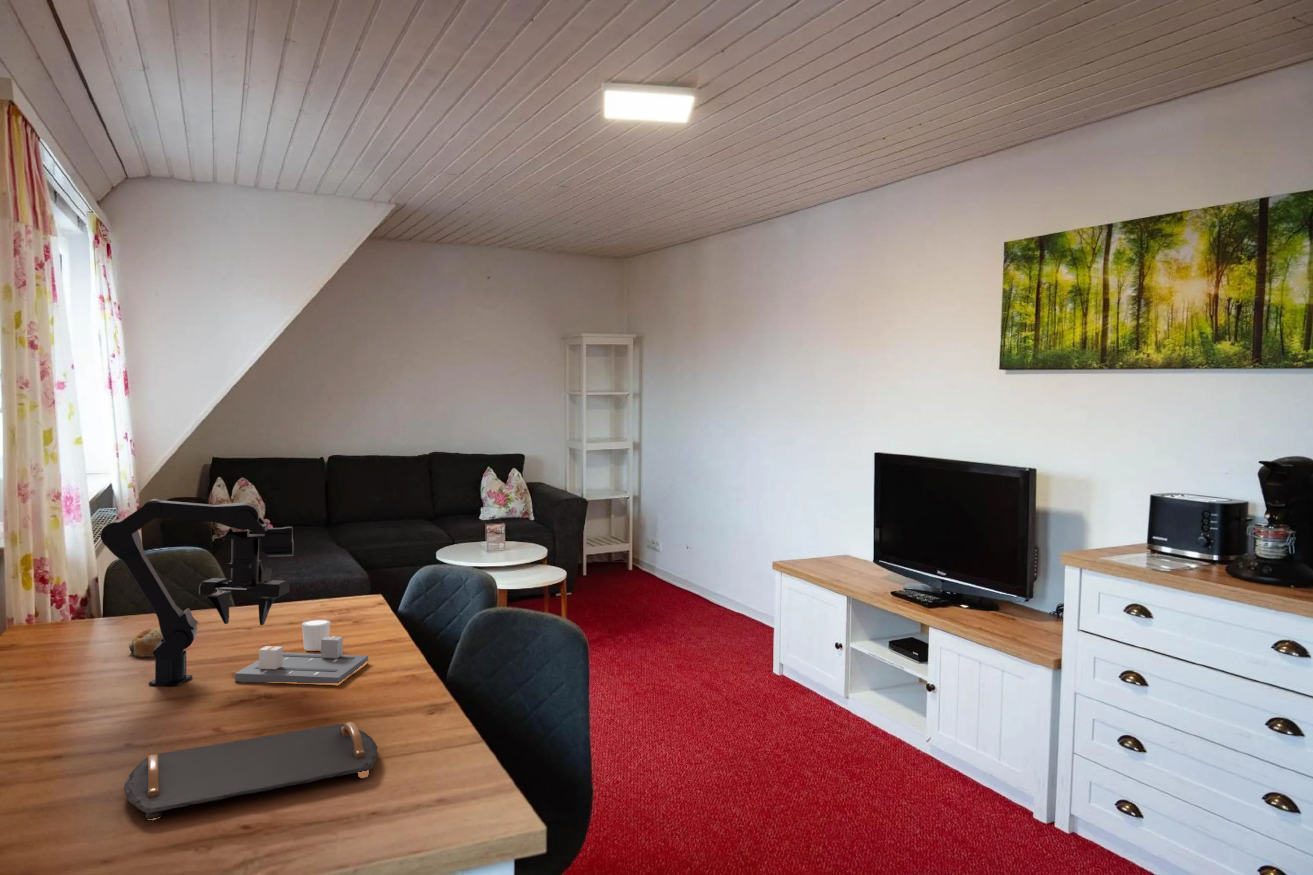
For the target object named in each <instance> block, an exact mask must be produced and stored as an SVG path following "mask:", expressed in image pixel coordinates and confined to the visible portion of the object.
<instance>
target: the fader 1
mask: <svg viewBox="0 0 1313 875" xmlns="http://www.w3.org/2000/svg"><path fill="white" fill-rule="evenodd" d="M283 648H284V647H283V646H276V645H272V646H271V645H268V646H267V645H266V646H263V647H262V648H260V649H258V650H259V651H258V658H259V659H258V660H259V669H277V668H279V667H281V666H282V663H283V652H284V649H283Z"/></svg>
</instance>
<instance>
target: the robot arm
mask: <svg viewBox="0 0 1313 875" xmlns="http://www.w3.org/2000/svg"><path fill="white" fill-rule="evenodd" d="M154 519H168V520H180V521H181V520H182V521H191V522H192V521H193V522H207V523H215V524H219V525H222V526H225V527H228V528H229V529H228V530H227V532H226V533H224V534H223V535H222V537H221V538H222V540H231V555H230V556H231V560H230V561H231V562H229V563H228V564H227V569H230V580H229V579H228V578H221V577H220V578H219V577H212V578H210V579H206V580H203V581H201V583H200V584H199V586H198V594H199V595H204V596H205V595H206V596H205V599H209V600H210V601H211V603H212V604H213V606H214V607H215V609H216V611H217V613H218V614H219V616H220V618H221V620H222V622H223V624H224V625H227V624H229V621H230V598H231V594H232V593H233V592H251V593H253V592H254V593H260V594H261V595H262V596H260V597H258V599H257V600H258V601H257V602H258V605H257V606H258V621H259V625H260V626H264V625H265V623H266V621H267V617H268V615H269V614H270V613H269V612H270V610H271V607H272V605H273V603H274V602H275V600H276V599H278V598H280V597H281V596H284V595H286V594H288V593H290V584H289V582H288V581H287V580H282V579H281V580H278V579H277V580H276V579H273V580H271V578H272V577H271V576H272V569H271V568H269V567H267V566H263V561H262V559H260V558H259V556H260V539H261V553H262V554H266V557H270V558H271V557H292V556H294V539H293V538H294V537H293V526H284V527H269V526H268V524H267V523H266V521H264V520H263V519H262V517H261V511H260V509H259V508H258V506H257V505H256V504H254V502H253V503H252V502H249V501H244V502H233V503H225V504H208V503H196V502H183V501H182V502H181V501H172V500H171V501H170V500H161V499H159V498H153V499H150V500H149V501H147V502H145V503H144V504H143V506H141V507H140V508H138V509H136V510H135V511H134V512H132V513H131V514H129V515H128V516H127V517H125V518H117V519H115V520H113V521H112V522H110V523H108V524H107V525H105V526H103V528H102V531H101V533H100V540H101V542H102V543H103V545H104V546H105V547H106V548H107V549H108V550H109V551H110V552H111V553H112V554H113V556H115V557H116V558H118V559H119V560H120V561H121V562H123V564H124V565H125V566H126V568H127V569H128V571H129V573H130V574H131V575H130V576H132V578H133V579H134V581H135V582H136V585H137V586H138V588H139V589H140V591H141V592H142V594H143V596H144V597H145V599H146V600H147V603H148V604H149V606H150V608H152V610H153V612H154V614H155V615H156V617H157V621H158V624H159V628H160V630H161V633H162V636H163V639H162V640H161V641H160V642H159V644H158V645H157V647H156V648H155V650H154V651H153V654H154V659H155V660H154V662H155V663H154V665H155V666H154V667H155V668H154V670H155V672H154V673H155V674H154V678H155V679H152V680H151V681H149V682H148V686H149V685H150V686H166V687H167V686H168V687H172V686H173V687H176V686H178V685H181V684H183V683H184V682H186V681H188V680H190V679H192V678H193V674H187V650H186V649H188V648H189V647H190V646H191V645H192V643H193V642H194V640H195V638H196V636H197V634H198V626H197V625H198V623H199V620H197V619H195V617H194V616H193V614H192V611H191V609H190V608H189V607H188V608H185V609H184V610H182V609H181V608H180V606H179V607H178V606H177V604H176V602H175V601H174V600H173V598H172V597H171V595H170V592H168V590H167V588H166V587H165V585H164V584H163V582H162V580H161V578H160V577H159V576H160V575H158V573H157V572H156V570H155V568H154V567H153V565H152V563H151V562H150V560H149V558H148V557H147V555H146V553H145V550H144V547H143V546H144V545H143V543H142V538H141V536H140V532H139V530H140V529H142V528H143V527H144V526H146V525H147V524H149V523H150V522H152V521H153V520H154ZM235 529H237V530H235ZM249 531H250V532H251V533H252V534H251V533H250V532H249Z"/></svg>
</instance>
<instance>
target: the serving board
mask: <svg viewBox="0 0 1313 875" xmlns="http://www.w3.org/2000/svg"><path fill="white" fill-rule="evenodd" d="M378 755H379V753H378V745H377V743H376V742H375V741H374V739H373V738H372V737H371V736H370V735H369V734H368V733H366V732H365V731H362V730H361V729H359V728H358V726H357V725H356V724H355V723H354V722H353V721H348V722H345V723H337V724H332V725H331V724H330V725H325V726H317V727H313V728H307V729H300V730H294V731H289V732H284V733H276V734H268V735H264V736H258V737H252V738H246V739H240V740H234V741H228V742H226V741H225V742H223V743H215V744H211V745H209V744H208V745H205V746H197V747H192V748H187V749H182V750H181V749H180V750H179V749H178V750H173V751H168V752H163V753H162V752H160V753H155V754H150V755H148V757H146V758H144V759H143V760H141V761H140V762H139V763H138V764H136V766H135V767H134V768H133V769H132V770H131V772H130V773H129V774H128V776H127V777H128V778H127V779H126V781H125V783H124V787H123V789H124V790H123V791H124V795H125V796H126V797H127V800H128V802H129V804H131V805H133V806H134V807H135V808H136V809H138V810H140V811H142V812H144V813H145V819H146V818H147V819H153V818H158V817H160V816H161V815H163V812H164V811H167V810H171V809H172V810H174V809H179V808H183V807H187V806H193V805H198V804H204V803H209V802H210V803H211V802H216V801H220V800H225V799H228V798H233V797H239V796H242V795H250V794H255V793H256V794H257V793H262V792H267V791H270V790H272V791H273V790H275V789H276V790H277V789H281V788H285V787H290V786H296V785H301V784H308V783H312V782H313V783H314V782H316V781H320V780H323V779H330V778H334V777H340V776H345V775H350V774H355V773H356V774H357V772H362V771H367V770H371V769H373V767H374V766H375V764H376V763H375V762H376V761H377V759H378ZM161 817H162V816H161Z"/></svg>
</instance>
